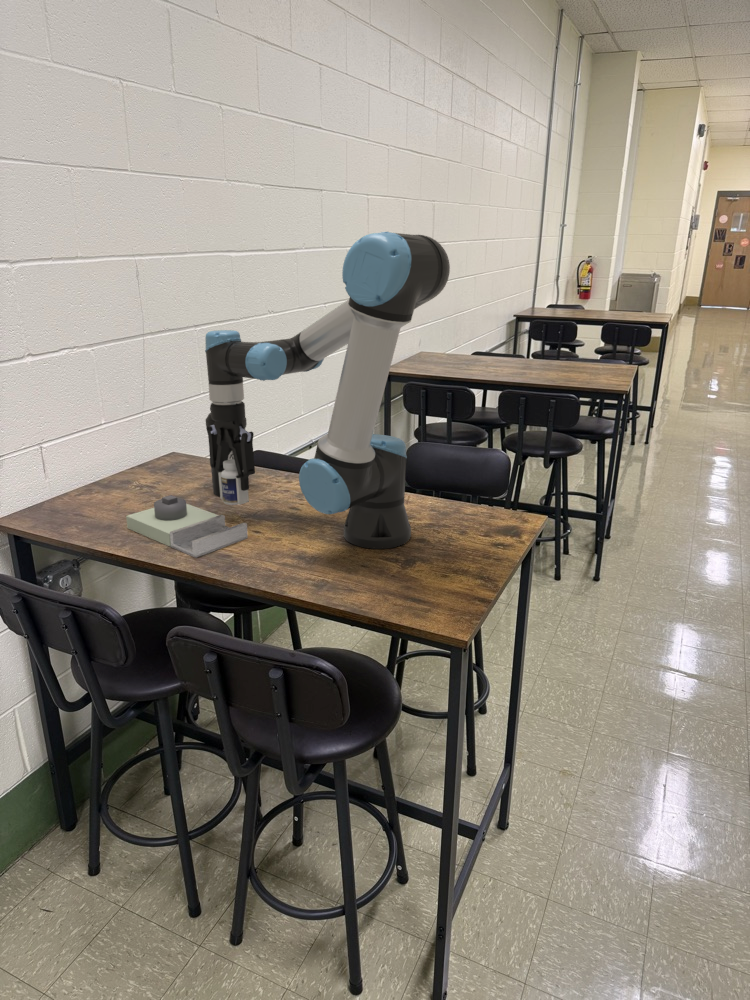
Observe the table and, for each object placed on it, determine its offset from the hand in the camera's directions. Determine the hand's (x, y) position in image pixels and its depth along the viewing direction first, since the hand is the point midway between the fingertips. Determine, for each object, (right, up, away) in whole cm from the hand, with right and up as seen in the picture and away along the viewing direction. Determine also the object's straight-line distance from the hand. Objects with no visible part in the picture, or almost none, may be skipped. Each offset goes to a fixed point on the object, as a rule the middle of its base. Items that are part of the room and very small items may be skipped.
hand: (234, 500), depth 161 cm
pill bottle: (0, -1, 0) cm, 1 cm away
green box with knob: (-13, -6, -4) cm, 15 cm away
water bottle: (-6, +2, +21) cm, 22 cm away
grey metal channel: (-3, -9, -11) cm, 15 cm away
